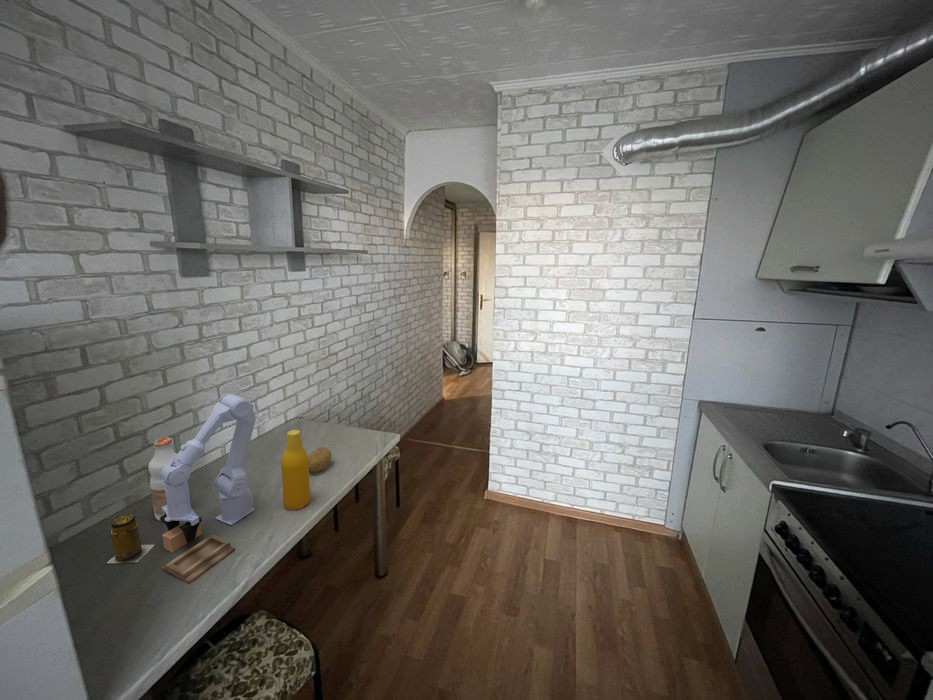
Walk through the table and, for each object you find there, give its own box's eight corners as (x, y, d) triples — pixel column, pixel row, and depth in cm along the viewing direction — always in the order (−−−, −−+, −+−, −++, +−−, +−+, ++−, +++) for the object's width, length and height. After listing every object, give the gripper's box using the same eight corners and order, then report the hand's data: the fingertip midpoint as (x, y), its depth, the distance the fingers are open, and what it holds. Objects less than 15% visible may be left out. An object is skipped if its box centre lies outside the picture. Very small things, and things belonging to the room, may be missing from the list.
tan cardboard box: (193, 530, 126) (192, 517, 125) (201, 534, 124) (200, 521, 123) (164, 548, 117) (162, 534, 116) (172, 552, 116) (170, 538, 115)
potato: (298, 475, 160) (297, 458, 158) (316, 459, 173) (316, 443, 172) (319, 479, 158) (318, 462, 157) (336, 462, 172) (336, 446, 170)
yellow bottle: (311, 507, 140) (308, 435, 134) (283, 513, 136) (279, 440, 130) (309, 493, 148) (306, 425, 142) (283, 499, 144) (278, 429, 138)
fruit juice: (157, 509, 134) (146, 437, 128) (189, 501, 139) (181, 432, 133) (152, 525, 127) (141, 449, 120) (187, 516, 132) (178, 443, 125)
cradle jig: (208, 538, 122) (208, 532, 122) (235, 550, 118) (234, 544, 118) (161, 569, 110) (160, 562, 109) (189, 584, 106) (188, 577, 105)
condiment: (125, 545, 118) (119, 512, 115) (155, 545, 118) (150, 511, 116) (106, 564, 111) (99, 528, 108) (137, 563, 111) (131, 528, 109)
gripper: (148, 500, 116) (154, 538, 119) (180, 513, 111) (185, 552, 114) (173, 488, 123) (178, 524, 126) (204, 500, 118) (208, 537, 121)
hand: (183, 537), depth 121 cm, fingers open, 7 cm apart
